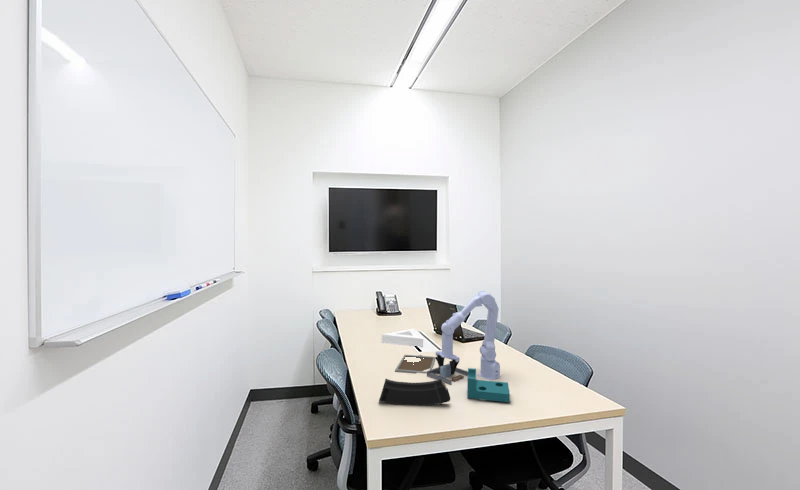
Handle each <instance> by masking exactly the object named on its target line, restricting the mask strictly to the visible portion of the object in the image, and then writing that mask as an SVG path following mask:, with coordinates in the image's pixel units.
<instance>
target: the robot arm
mask: <svg viewBox="0 0 800 490" xmlns="http://www.w3.org/2000/svg"><path fill="white" fill-rule="evenodd" d="M478 307H485V308H486V309H487V317H486V324H485V332H484V338H483V341H482V343H481V346H480V347H479V353H480V370H479V371H480V373H478V374H476V377H480V378H484V379H486V380H488V381H494V380H496V379H498V378H500V377H501V365H500V363H499V362H498V361H496V357H497V353H496V345H495V340H496V339H495V338H496V330H497V324H498V317H499V305H498V304H497V302H496V298H495V297H494V296H493V295H492V294H491V293H488V292H487V291H485V290H482V291H479V292H478V293H477V294H476V295H474V296H473V298H472V299H471V300H470V301H469V302H468V303H467V304H466V305H465V306H464V307H463V309H462V310H460V311H457V312H453V313H452V316H451V317H449V318H448V319H447V320H445V322H444V323H442V325H441V327H440V328H441V329H440V330H441V331H442V333H441V351H440V350H436V351H435V357H436V359H435V361H436V362H437V365H438V367H439V369H440V367H441V366H444V365H445V364H444V362H445V359H449V360H450V361H449V363H450V367H451V375H450V376H453V375H455V373H456V372H455V370H456V368H458V367H457V366H458V365H459V364H460V357H459V356H457V355H455V354H454V351H453V349H454V337H453V336H454V335H453V334H454V332H455V330H456V329H457V328H458V327H459V326H460V325H462V323H464V321H465V318H466V316H468V314H469V313H471V312H472V311H473V310H474V309H475V308H478ZM449 363H448V364H449Z"/></svg>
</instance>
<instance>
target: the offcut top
mask: <svg viewBox="0 0 800 490" xmlns="http://www.w3.org/2000/svg"><path fill="white" fill-rule="evenodd" d="M464 376H465V375H463V374H458V375H455V376H453V377H451V380H452V382H453V381H454V382H453V383H455V382H459V381H461V380H463V379H465V377H464ZM460 379H461V380H460Z"/></svg>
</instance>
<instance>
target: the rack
mask: <svg viewBox="0 0 800 490" xmlns="http://www.w3.org/2000/svg"><path fill="white" fill-rule="evenodd" d="M426 372H427V373H426V377H429V378H431V379H433V380H435V381H436V380H440V379H441V380H442V382H444V383H445V385H449V386H452V383H453V381H452V379H449V378H447V377H445V378H444V377H441V376H440V375H438V374H440V369H439V366H437V367H434V368H432V370H430V369H428V370H426ZM455 373H457V374H459V375H463V376H466V377H468V370H465V369H462V368H458V367H456V370H455Z"/></svg>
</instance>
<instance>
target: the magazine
mask: <svg viewBox="0 0 800 490" xmlns="http://www.w3.org/2000/svg"><path fill="white" fill-rule="evenodd" d="M382 387H383V388H382V389H381V393H380V397H379V399H378V402H383V403H388V404H395V405H401V406H402V405H403V406H416V407H417V406H418V407H419V406H420V407H421V406H430V405H431V406H432V405H440V406H443V403H449V402H450V401H451V396H450V395H451V394H450V392H449V389H448V388H447V384H446V383H444V382H442V380H441V379H440V380H436V379H435V380H430V381H423V382H421V381H420V382H407V381H396V380H393V379H392V380H391V379H388V378H385V380H384V383H383V386H382Z"/></svg>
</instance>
